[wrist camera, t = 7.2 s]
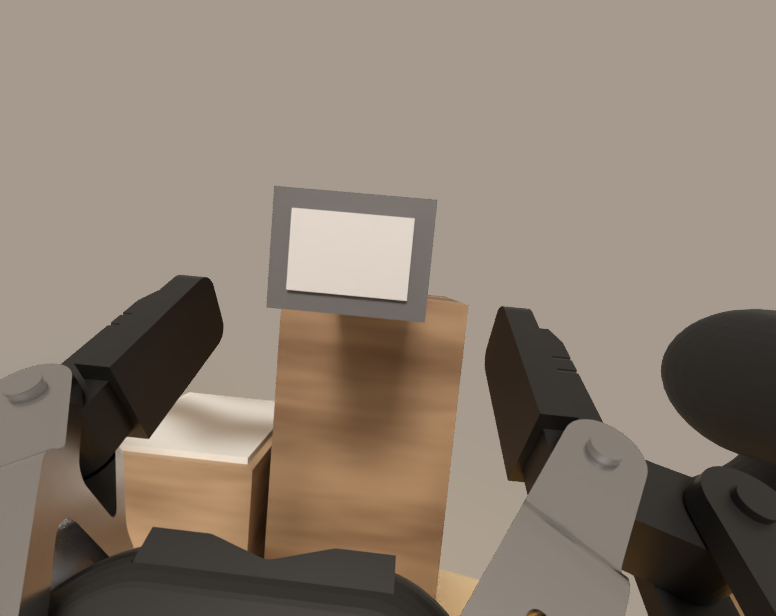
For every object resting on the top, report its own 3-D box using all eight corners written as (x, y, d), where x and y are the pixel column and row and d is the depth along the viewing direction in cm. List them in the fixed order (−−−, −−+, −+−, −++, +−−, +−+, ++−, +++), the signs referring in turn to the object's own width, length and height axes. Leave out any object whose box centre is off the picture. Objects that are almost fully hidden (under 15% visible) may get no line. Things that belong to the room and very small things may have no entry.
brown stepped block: (176, 625, 32) (192, 272, 29) (406, 654, 31) (444, 296, 29) (73, 783, 22) (84, 268, 19) (409, 830, 21) (468, 305, 19)
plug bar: (350, 286, 31) (354, 241, 30) (419, 293, 31) (423, 247, 30) (225, 304, 9) (234, 138, 8) (465, 327, 9) (484, 159, 8)
